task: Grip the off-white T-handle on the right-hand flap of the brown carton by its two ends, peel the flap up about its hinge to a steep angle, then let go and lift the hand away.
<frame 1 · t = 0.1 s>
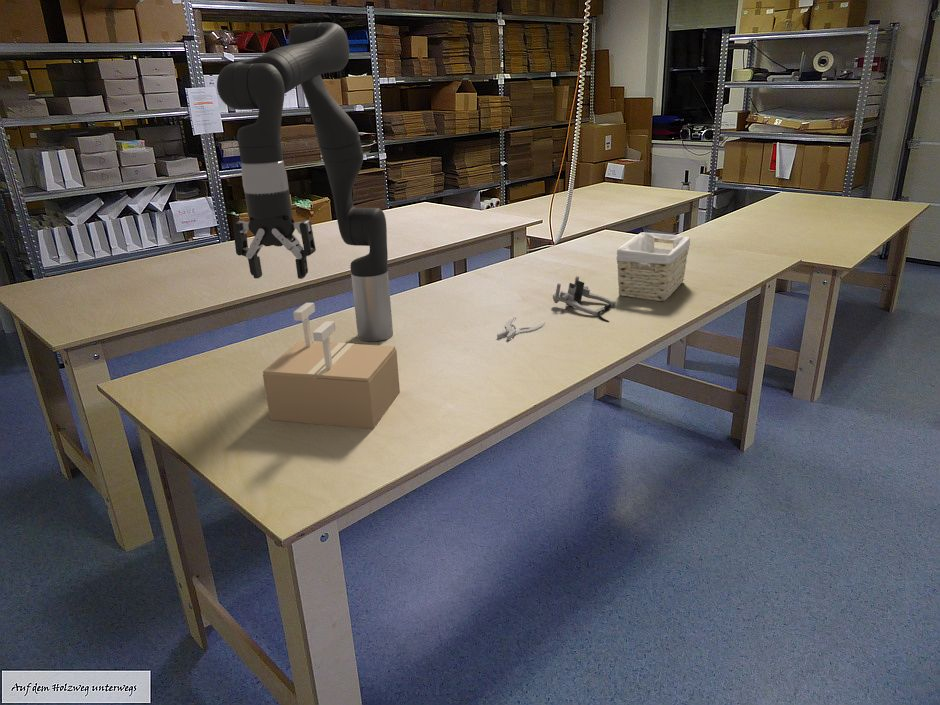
hand: (279, 277, 122), 29 cm above the table, tool pointing down, fingers open, 8 cm apart
carton: (337, 405, 138), on the table
bike brake: (590, 309, 188), on the table
storage basket: (650, 289, 202), on the table
pliers: (516, 332, 174), on the table
right flap: (355, 341, 131), point 15 cm above the table, hinge at 0.0°
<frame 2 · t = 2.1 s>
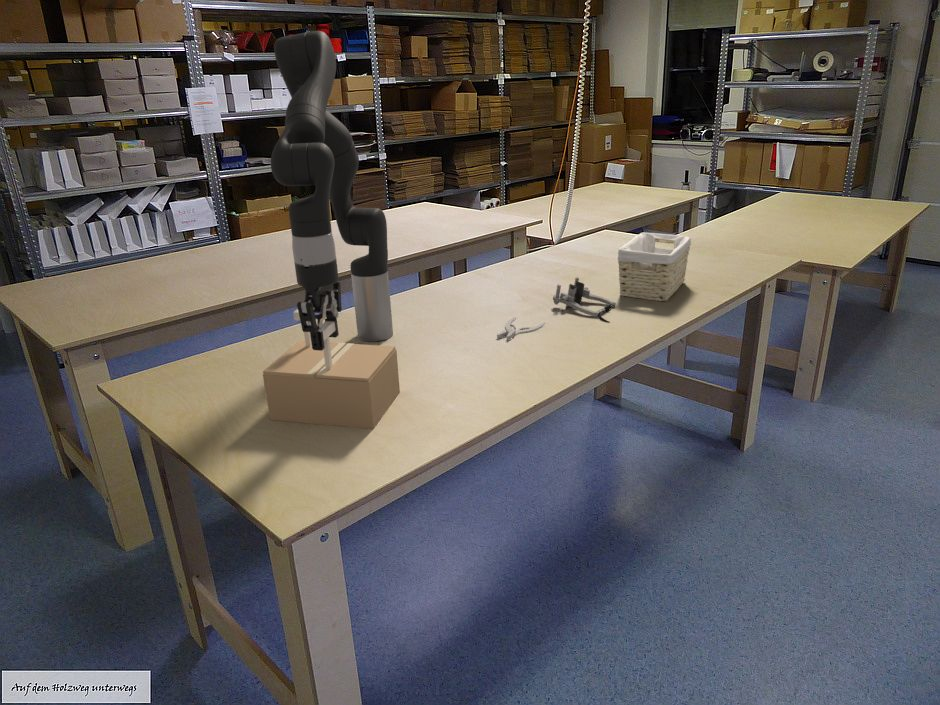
hand: (325, 342, 127), 16 cm above the table, tool pointing down, fingers closed on right flap, 6 cm apart
right flap: (355, 341, 131), point 15 cm above the table, hinge at 0.0°, touching gripper
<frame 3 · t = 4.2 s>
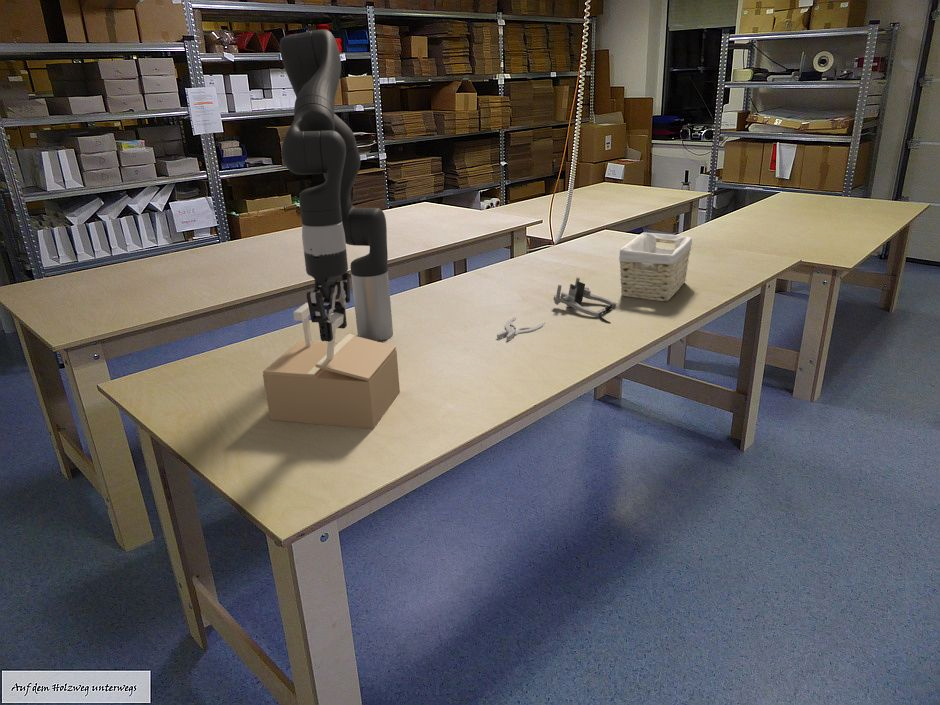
hand: (334, 333, 126), 18 cm above the table, tool pointing down, fingers closed on right flap, 6 cm apart
right flap: (359, 336, 130), point 16 cm above the table, hinge at 11.9°, touching gripper
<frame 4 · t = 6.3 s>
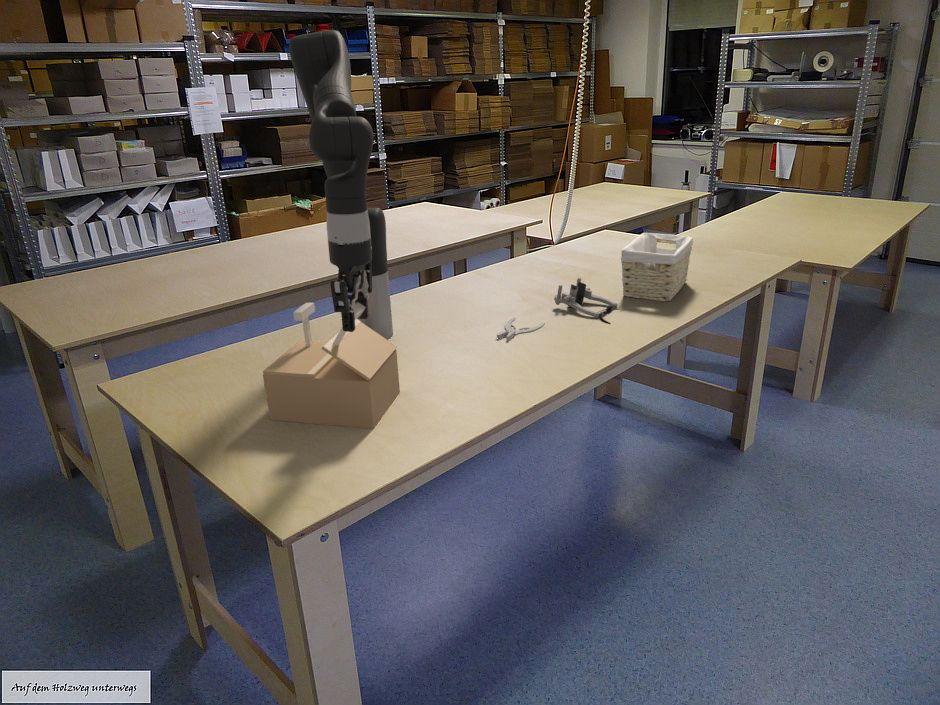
hand: (355, 324, 124), 20 cm above the table, tool pointing down, fingers closed on right flap, 6 cm apart
right flap: (371, 331, 129), point 17 cm above the table, hinge at 34.3°, touching gripper
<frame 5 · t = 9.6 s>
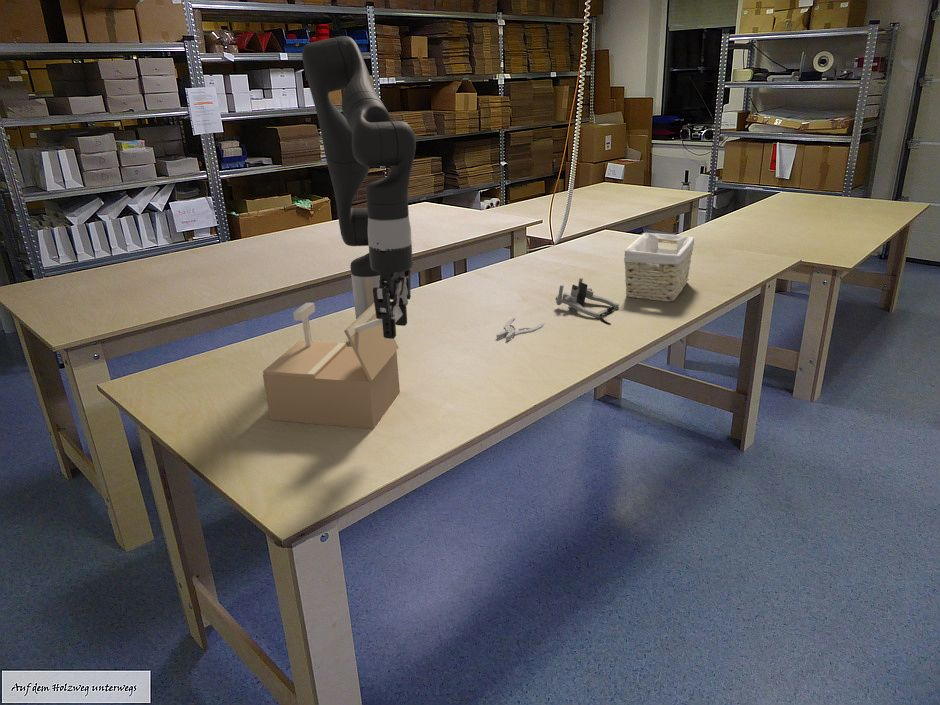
hand: (395, 330, 123), 19 cm above the table, tool pointing down, fingers closed on right flap, 6 cm apart
right flap: (391, 333, 128), point 17 cm above the table, hinge at 68.2°, touching gripper
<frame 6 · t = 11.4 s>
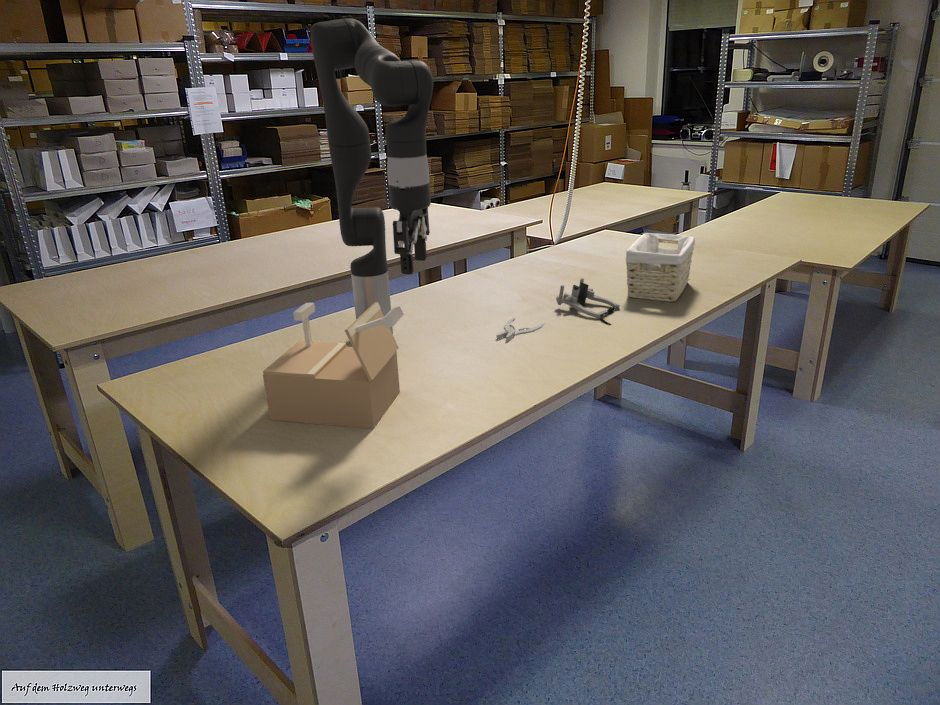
hand: (414, 266, 127), 29 cm above the table, tool pointing down, fingers open, 8 cm apart
right flap: (392, 333, 128), point 17 cm above the table, hinge at 68.9°
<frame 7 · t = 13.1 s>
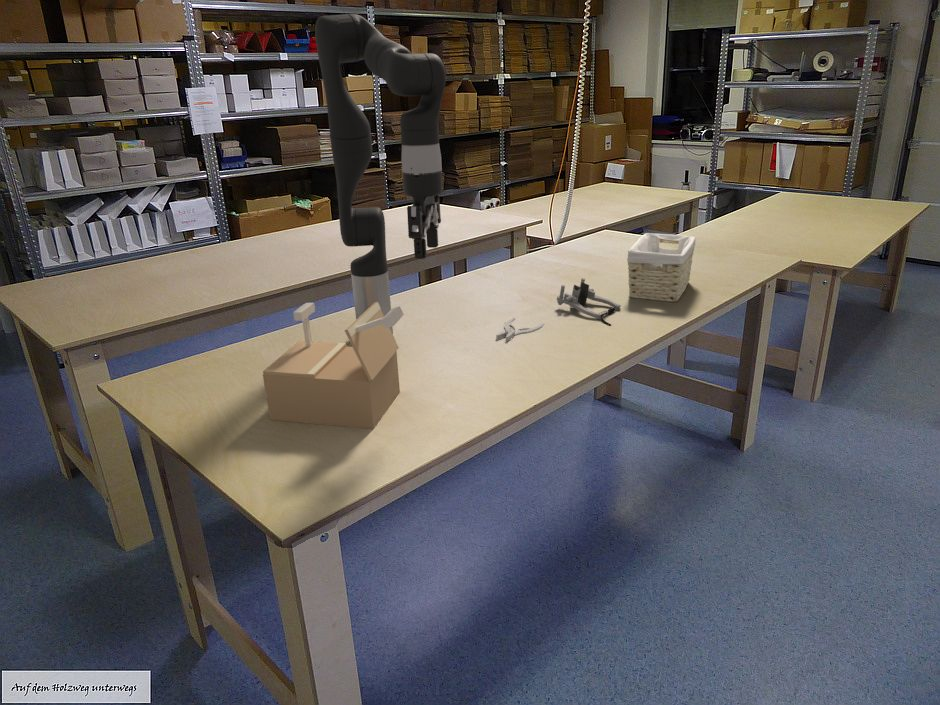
hand: (426, 252, 132), 30 cm above the table, tool pointing down, fingers open, 8 cm apart
at the end: right flap at +69° (first picture: +0°); the gripper is holding nothing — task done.
